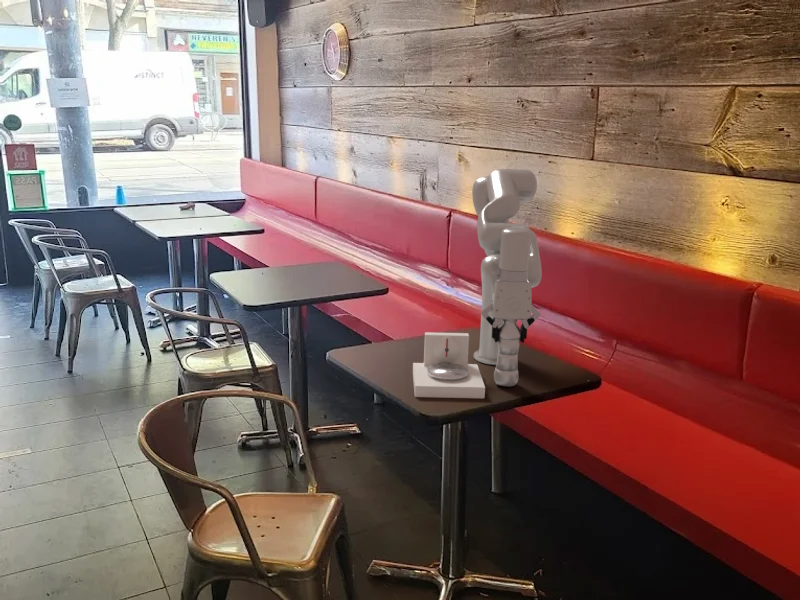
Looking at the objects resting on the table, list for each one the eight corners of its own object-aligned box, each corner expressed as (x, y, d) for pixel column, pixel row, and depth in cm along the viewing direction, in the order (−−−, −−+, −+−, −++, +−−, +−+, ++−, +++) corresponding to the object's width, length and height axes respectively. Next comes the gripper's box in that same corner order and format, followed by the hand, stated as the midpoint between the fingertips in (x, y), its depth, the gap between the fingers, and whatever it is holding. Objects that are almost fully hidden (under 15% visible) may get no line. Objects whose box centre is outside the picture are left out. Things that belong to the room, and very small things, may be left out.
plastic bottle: (501, 379, 208) (505, 309, 203) (522, 384, 204) (527, 314, 199) (488, 385, 203) (492, 314, 198) (510, 391, 199) (514, 318, 194)
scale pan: (426, 365, 206) (426, 362, 206) (466, 366, 207) (466, 363, 206) (428, 379, 196) (428, 376, 195) (470, 380, 196) (470, 377, 196)
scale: (412, 372, 211) (414, 332, 208) (476, 374, 211) (478, 333, 208) (414, 396, 193) (416, 352, 190) (484, 398, 193) (487, 354, 190)
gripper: (481, 277, 192) (477, 344, 196) (549, 279, 192) (543, 346, 197) (478, 271, 199) (474, 336, 204) (543, 273, 200) (538, 337, 204)
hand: (508, 340), depth 200 cm, fingers closed on plastic bottle, 6 cm apart
